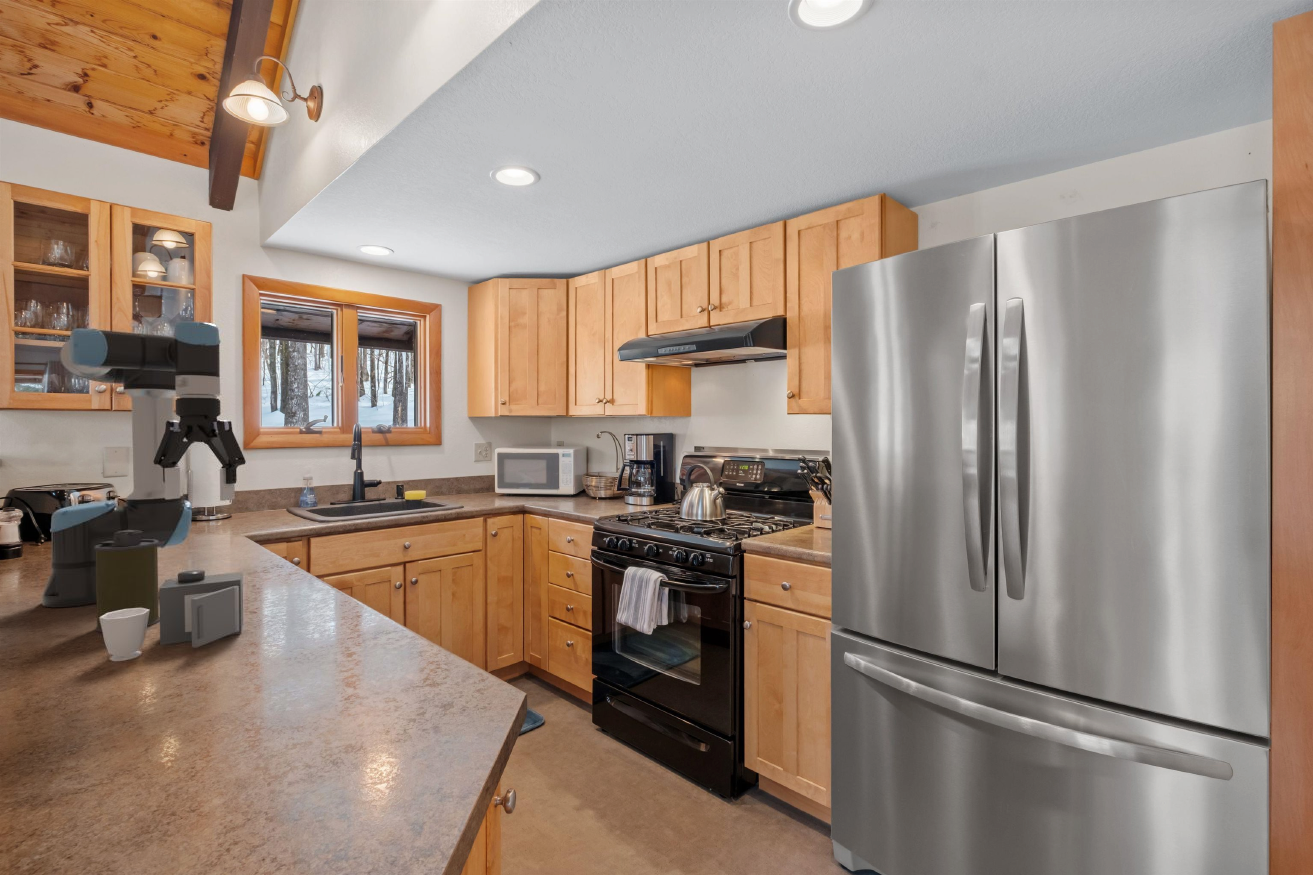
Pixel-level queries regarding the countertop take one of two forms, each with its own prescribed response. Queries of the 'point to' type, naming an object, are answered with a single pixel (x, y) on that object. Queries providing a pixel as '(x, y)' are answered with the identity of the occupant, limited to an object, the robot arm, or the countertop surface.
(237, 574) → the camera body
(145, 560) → the canister
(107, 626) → the cup
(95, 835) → the countertop surface
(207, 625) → the door
